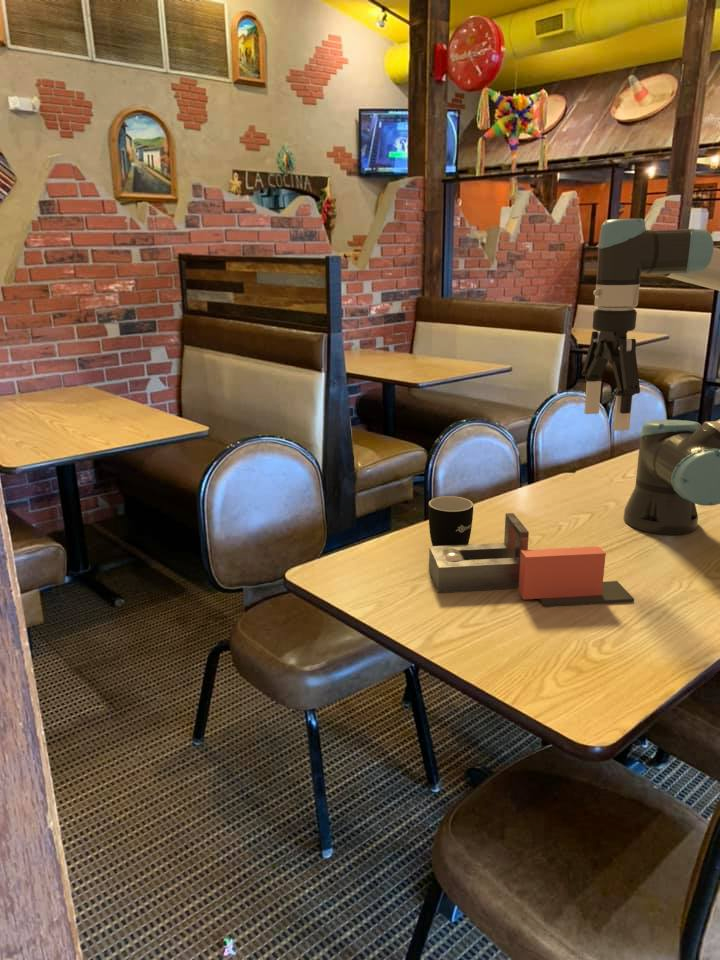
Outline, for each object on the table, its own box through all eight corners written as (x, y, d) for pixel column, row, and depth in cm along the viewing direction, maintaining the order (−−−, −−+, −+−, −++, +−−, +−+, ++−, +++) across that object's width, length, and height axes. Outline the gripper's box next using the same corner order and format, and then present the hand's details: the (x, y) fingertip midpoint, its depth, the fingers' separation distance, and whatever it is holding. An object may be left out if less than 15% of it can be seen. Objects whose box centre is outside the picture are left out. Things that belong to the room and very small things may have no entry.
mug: (456, 562, 142) (457, 514, 138) (419, 551, 147) (419, 504, 144) (487, 543, 150) (489, 498, 147) (451, 533, 156) (452, 489, 153)
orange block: (594, 587, 129) (598, 546, 127) (601, 595, 126) (605, 553, 124) (518, 591, 128) (520, 550, 126) (523, 599, 125) (525, 557, 123)
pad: (616, 583, 132) (617, 580, 132) (633, 601, 125) (634, 598, 125) (531, 588, 130) (531, 585, 130) (543, 606, 124) (544, 603, 124)
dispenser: (510, 566, 140) (513, 513, 136) (525, 588, 131) (528, 532, 127) (428, 570, 138) (429, 516, 135) (438, 592, 129) (439, 536, 126)
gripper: (570, 303, 143) (563, 408, 150) (625, 315, 120) (614, 438, 126) (606, 302, 144) (598, 406, 151) (669, 313, 120) (655, 436, 127)
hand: (605, 421), depth 139 cm, fingers open, 13 cm apart
